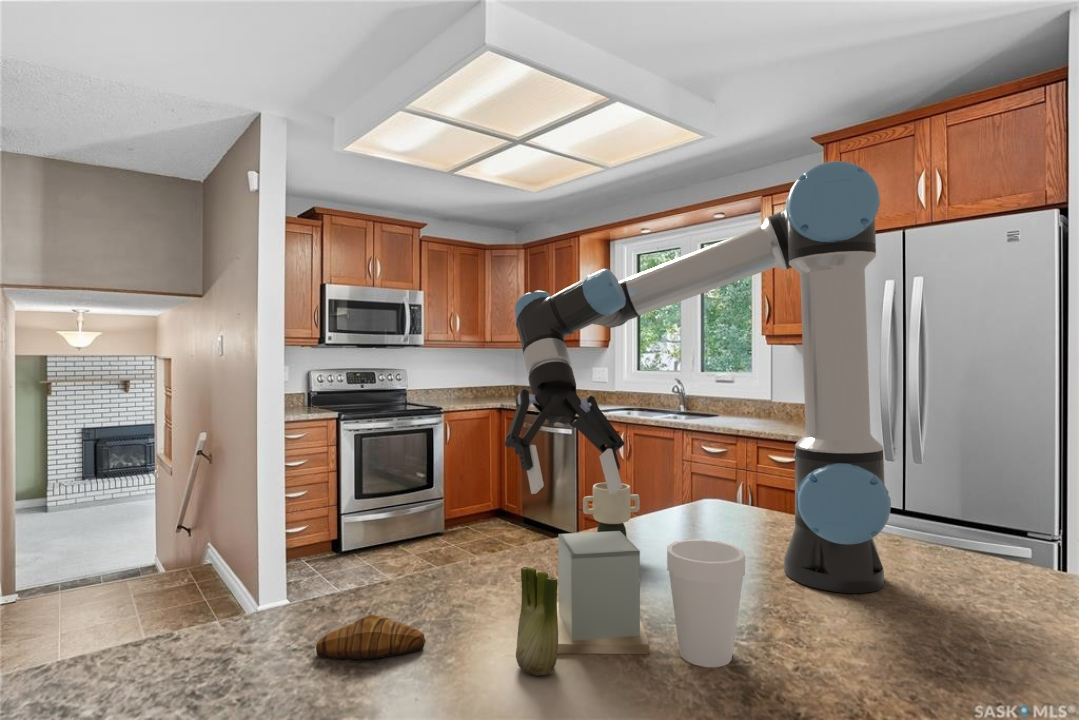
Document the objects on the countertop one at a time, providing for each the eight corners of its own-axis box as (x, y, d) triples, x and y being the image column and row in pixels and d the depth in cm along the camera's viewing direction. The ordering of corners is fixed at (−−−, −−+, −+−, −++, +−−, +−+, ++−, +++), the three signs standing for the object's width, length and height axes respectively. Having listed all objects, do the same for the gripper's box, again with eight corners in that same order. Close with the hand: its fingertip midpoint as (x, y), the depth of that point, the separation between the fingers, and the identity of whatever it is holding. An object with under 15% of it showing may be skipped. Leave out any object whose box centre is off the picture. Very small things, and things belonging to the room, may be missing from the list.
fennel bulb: (564, 679, 71) (563, 575, 71) (523, 685, 69) (522, 580, 69) (549, 655, 76) (548, 559, 76) (510, 661, 75) (510, 563, 75)
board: (635, 610, 89) (635, 602, 89) (649, 654, 76) (649, 644, 76) (525, 610, 90) (525, 602, 90) (521, 653, 77) (521, 643, 77)
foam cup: (749, 677, 71) (749, 565, 71) (667, 670, 73) (667, 560, 72) (739, 640, 80) (739, 541, 80) (667, 634, 82) (667, 537, 82)
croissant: (308, 671, 73) (308, 629, 73) (322, 644, 80) (321, 606, 80) (423, 663, 75) (423, 623, 75) (427, 638, 81) (426, 601, 81)
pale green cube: (620, 607, 88) (619, 531, 88) (640, 635, 79) (639, 550, 79) (558, 611, 86) (558, 534, 86) (571, 641, 77) (571, 554, 77)
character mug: (633, 547, 119) (633, 481, 119) (645, 559, 112) (645, 488, 112) (579, 550, 117) (578, 483, 117) (587, 563, 110) (587, 491, 110)
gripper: (600, 390, 111) (632, 500, 99) (472, 377, 99) (491, 500, 87) (622, 367, 105) (659, 480, 94) (489, 350, 94) (512, 477, 82)
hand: (578, 490), depth 90 cm, fingers open, 13 cm apart
